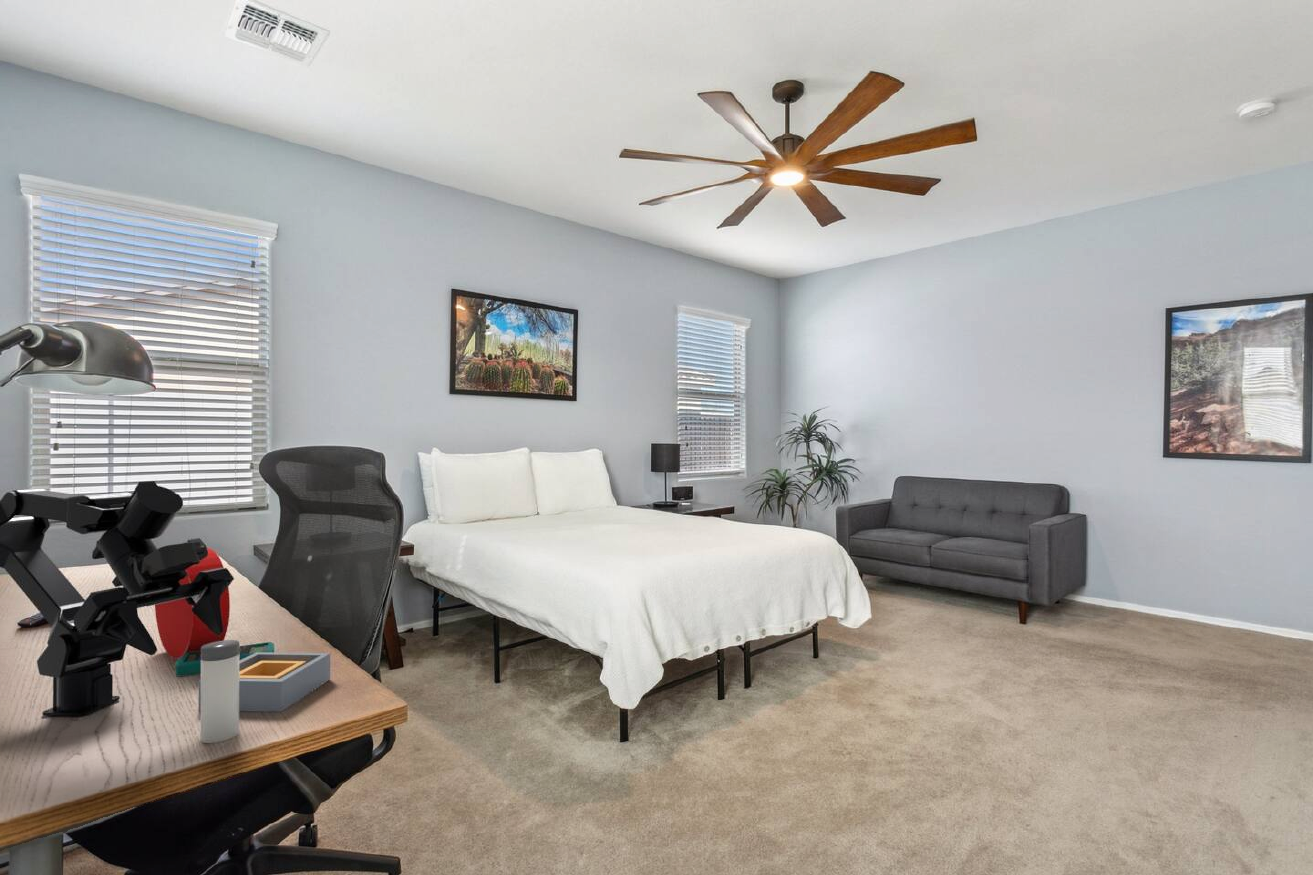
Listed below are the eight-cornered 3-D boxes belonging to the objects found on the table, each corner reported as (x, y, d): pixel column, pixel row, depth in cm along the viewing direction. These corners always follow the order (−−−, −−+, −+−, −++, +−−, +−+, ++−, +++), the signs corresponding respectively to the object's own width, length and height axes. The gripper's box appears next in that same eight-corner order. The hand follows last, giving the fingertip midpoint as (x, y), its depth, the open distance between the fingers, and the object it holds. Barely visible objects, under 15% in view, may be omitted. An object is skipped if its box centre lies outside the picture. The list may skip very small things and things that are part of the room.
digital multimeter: (181, 666, 117) (181, 650, 117) (275, 654, 123) (275, 639, 123) (171, 680, 110) (171, 663, 110) (271, 666, 117) (271, 650, 117)
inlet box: (198, 710, 97) (198, 680, 97) (256, 678, 110) (256, 652, 110) (281, 711, 96) (281, 681, 96) (330, 679, 109) (330, 653, 109)
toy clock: (229, 659, 119) (230, 552, 119) (192, 668, 114) (193, 557, 115) (189, 640, 131) (189, 543, 131) (154, 648, 126) (154, 547, 126)
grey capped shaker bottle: (192, 742, 86) (192, 649, 86) (216, 728, 90) (216, 639, 90) (223, 743, 86) (224, 650, 86) (246, 728, 90) (246, 640, 90)
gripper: (87, 531, 83) (145, 623, 80) (225, 516, 101) (278, 590, 97) (49, 587, 86) (103, 679, 82) (190, 563, 103) (240, 637, 100)
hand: (189, 642), depth 90 cm, fingers open, 9 cm apart
